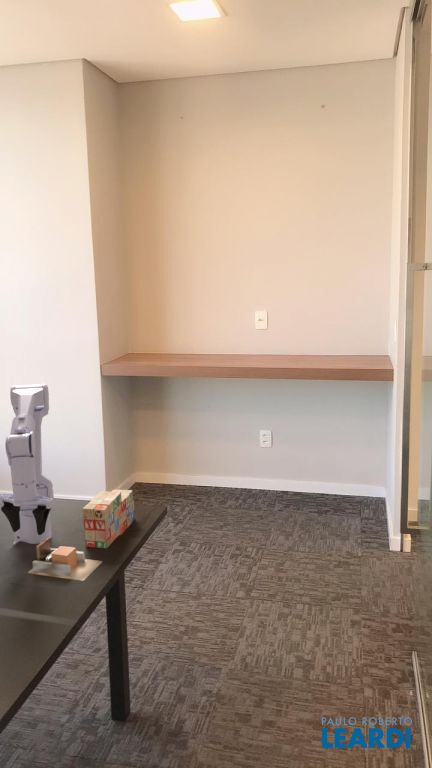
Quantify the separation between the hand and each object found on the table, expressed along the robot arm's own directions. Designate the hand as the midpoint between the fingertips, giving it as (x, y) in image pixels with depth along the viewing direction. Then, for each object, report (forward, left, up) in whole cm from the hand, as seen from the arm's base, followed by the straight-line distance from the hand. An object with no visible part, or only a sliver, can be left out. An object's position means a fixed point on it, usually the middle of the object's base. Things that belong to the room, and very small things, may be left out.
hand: (28, 531), depth 159 cm
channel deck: (+10, 0, -9) cm, 14 cm away
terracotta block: (+10, 0, -8) cm, 13 cm away
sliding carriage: (+5, 0, -8) cm, 10 cm away
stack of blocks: (+11, +22, -10) cm, 27 cm away
